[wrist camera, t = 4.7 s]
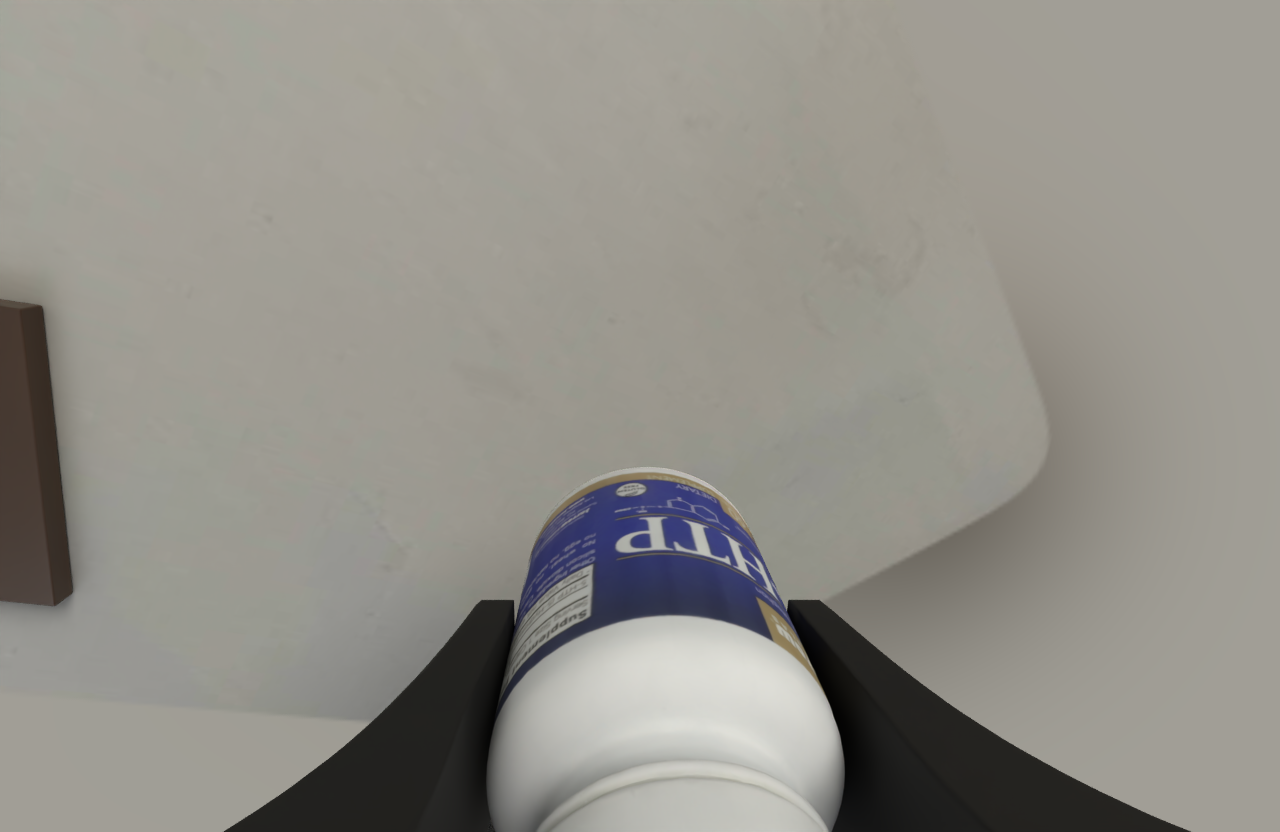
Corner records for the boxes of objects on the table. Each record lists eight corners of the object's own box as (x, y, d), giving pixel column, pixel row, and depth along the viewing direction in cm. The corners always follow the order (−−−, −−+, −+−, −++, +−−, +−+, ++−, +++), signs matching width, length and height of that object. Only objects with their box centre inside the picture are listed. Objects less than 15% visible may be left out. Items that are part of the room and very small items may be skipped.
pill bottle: (795, 525, 15) (1051, 940, 6) (677, 686, 16) (761, 1209, 8) (600, 418, 14) (602, 751, 5) (489, 599, 15) (347, 1101, 7)
